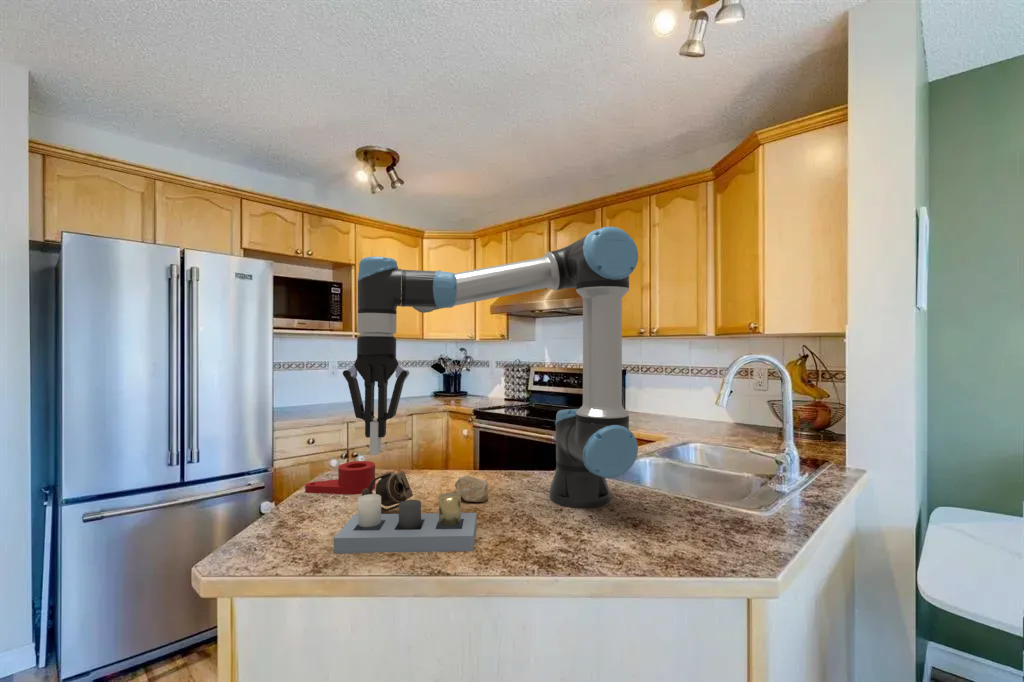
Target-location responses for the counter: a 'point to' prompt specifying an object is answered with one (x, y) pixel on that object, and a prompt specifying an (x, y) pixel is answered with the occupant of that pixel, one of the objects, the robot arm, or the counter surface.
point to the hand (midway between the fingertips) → (375, 453)
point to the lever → (346, 479)
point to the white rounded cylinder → (369, 510)
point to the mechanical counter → (391, 489)
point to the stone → (471, 489)
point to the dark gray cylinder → (410, 515)
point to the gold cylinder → (449, 509)
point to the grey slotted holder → (407, 535)
